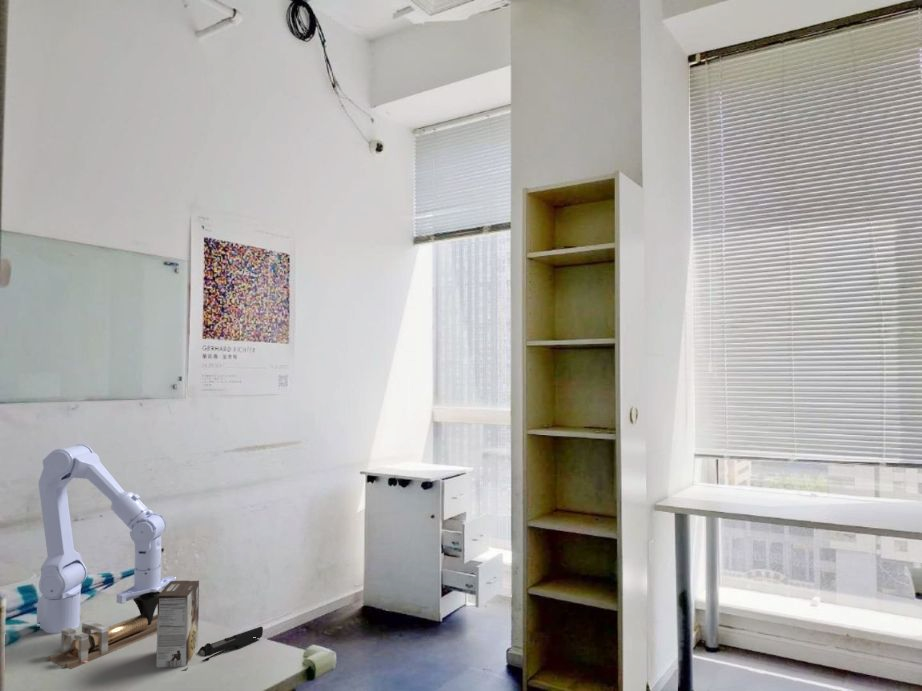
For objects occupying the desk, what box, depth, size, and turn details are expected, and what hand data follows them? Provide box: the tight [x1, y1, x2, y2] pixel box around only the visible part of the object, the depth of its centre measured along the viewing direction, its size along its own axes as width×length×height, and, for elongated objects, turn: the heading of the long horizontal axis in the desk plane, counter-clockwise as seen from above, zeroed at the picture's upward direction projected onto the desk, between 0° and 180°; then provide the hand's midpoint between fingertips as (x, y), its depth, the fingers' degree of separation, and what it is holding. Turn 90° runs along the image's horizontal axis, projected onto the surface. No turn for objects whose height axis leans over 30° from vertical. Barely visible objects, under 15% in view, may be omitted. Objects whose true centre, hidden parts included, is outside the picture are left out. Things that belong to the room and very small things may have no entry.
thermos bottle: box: [71, 614, 148, 657], centre depth 147 cm, size 16×4×4 cm, turn 152°
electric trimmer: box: [197, 626, 264, 662], centre depth 147 cm, size 4×16×3 cm, turn 140°
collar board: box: [45, 614, 157, 670], centre depth 148 cm, size 9×26×6 cm, turn 152°
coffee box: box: [155, 580, 200, 672], centre depth 140 cm, size 9×6×16 cm
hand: (146, 624), depth 155 cm, fingers closed
